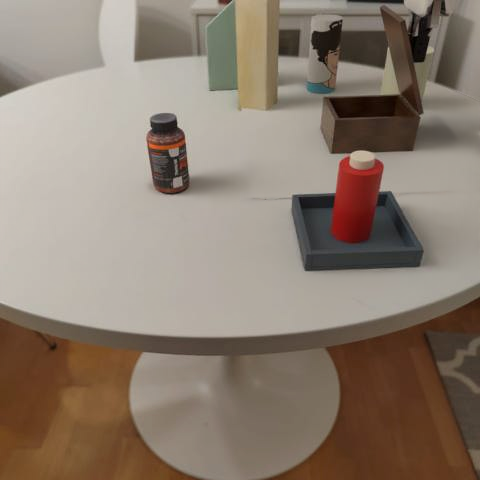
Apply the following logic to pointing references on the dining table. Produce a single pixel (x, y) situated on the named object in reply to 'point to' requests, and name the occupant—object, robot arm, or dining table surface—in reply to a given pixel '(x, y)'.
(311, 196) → the tray
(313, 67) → the cup
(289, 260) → the dining table surface
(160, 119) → the supplement bottle
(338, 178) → the ketchup bottle
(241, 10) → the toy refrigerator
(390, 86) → the can
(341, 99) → the chest
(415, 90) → the chest lid
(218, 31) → the green magazine holder
